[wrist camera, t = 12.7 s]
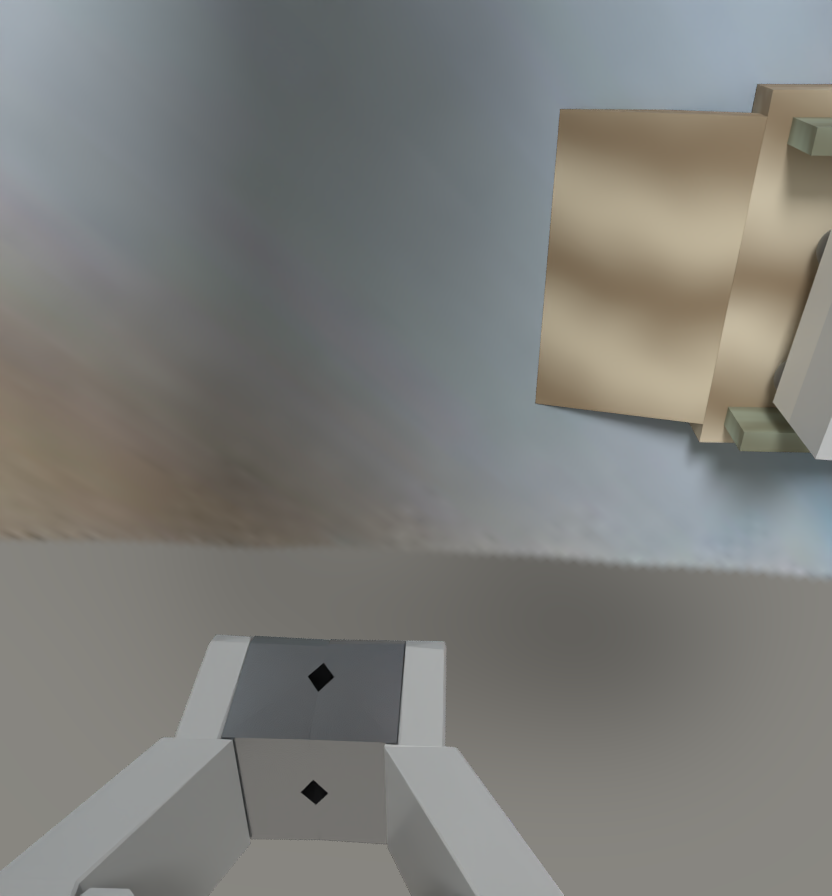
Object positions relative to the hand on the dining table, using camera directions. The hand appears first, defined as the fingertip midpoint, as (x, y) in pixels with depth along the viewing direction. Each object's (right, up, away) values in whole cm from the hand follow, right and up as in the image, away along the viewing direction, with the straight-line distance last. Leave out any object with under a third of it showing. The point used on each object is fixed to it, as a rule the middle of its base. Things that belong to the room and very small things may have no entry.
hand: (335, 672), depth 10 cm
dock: (+19, +12, +27) cm, 35 cm away
